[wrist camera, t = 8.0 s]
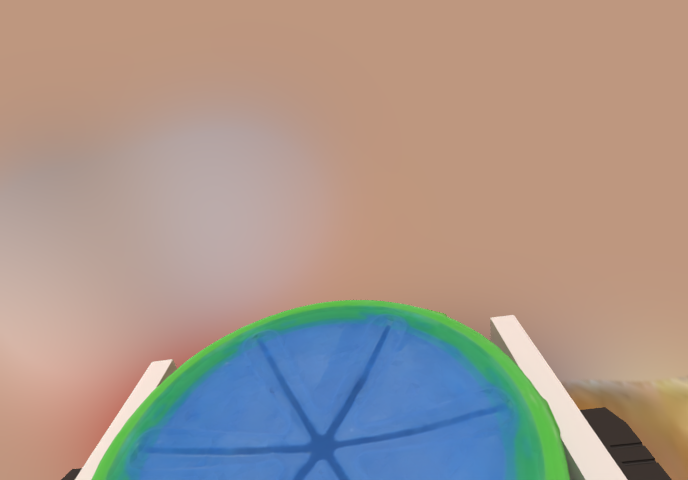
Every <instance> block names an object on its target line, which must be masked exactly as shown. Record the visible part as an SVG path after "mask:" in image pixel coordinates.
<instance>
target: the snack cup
mask: <svg viewBox="0 0 688 480" xmlns="http://www.w3.org/2000/svg"><path fill="white" fill-rule="evenodd" d="M91 480H570V474H569V469H568V464H567V460H566V455H565V451H564V448H563V445H562V442H561V438H560V429H559V426H558V424H557V422H556V420H555V418H554V415H553V413H552V411H551V409H550V407H549V404H548V402H547V401H546V400H545V399H544V398H543V397H542V396H541V395H540V394H539V392H538V391H537V390H536V388H535V387H534V385H533V384H532V382H531V381H530V380H529V379H528V377H527V376H526V375H525V374H524V373H523V371H522V370H521V369H520V368H519V367H518V366H517V365H516V364H515V363H514V361H513V360H512V359H511V358H510V357H509V356H508V355H506V354H505V353H504V352H503V351H502V350H501V349H500V348H499V347H498V346H496V345H495V344H494V343H493V342H491V341H490V340H488V339H487V338H485V337H484V336H482V335H481V334H479V333H478V332H476V331H475V330H472V329H471V328H469V327H467V326H465V325H463V324H462V323H460V322H458V321H456V320H453V319H451V318H449V317H447V315H446V314H444V313H440V312H436V311H432V310H428V309H422V308H418V307H414V306H410V305H405V304H399V303H392V302H384V301H374V300H345V301H332V302H324V303H318V304H313V305H308V306H303V307H299V308H295V309H292V310H287V311H284V312H281V313H279V314H276V315H272V316H269V317H267V318H264V319H261V320H259V321H256V322H255V323H252V324H249V325H247V326H245V327H243V328H240V329H238V330H236V331H235V332H233V333H231V334H229V335H227V336H225V337H223V338H221V339H220V340H218V341H216V342H214V343H213V344H211V345H210V346H208V347H206V348H205V349H203V350H202V351H200V352H199V353H197V354H196V355H195V356H193V357H192V358H190V359H189V360H188V361H186V362H185V363H184V364H183V365H181V366H180V367H179V368H178V369H177V370H175V371H174V372H173V373H172V374H171V375H170V376H168V377H167V378H166V379H165V380H164V381H163V382H162V383H161V384H160V385H159V386H158V387H157V388H156V389H154V390H153V391H152V392H151V394H150V395H149V396H148V397H147V398H146V399H145V400H144V401H143V403H142V404H141V405H140V406H139V407H138V408H137V409H136V411H135V412H134V413H133V414H132V416H131V417H130V418H129V419H128V420H127V422H126V423H125V424H124V426H123V427H122V429H121V430H120V431H119V433H118V434H117V435H116V437H115V438H114V440H113V441H112V443H111V444H110V446H109V448H108V449H107V451H106V452H105V454H104V456H103V457H102V459H101V461H100V463H99V465H98V467H97V469H96V471H95V473H94V475H93V477H92V479H91Z"/></svg>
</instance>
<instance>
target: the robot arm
mask: <svg viewBox="0 0 688 480" xmlns="http://www.w3.org/2000/svg"><path fill="white" fill-rule="evenodd" d="M490 327H491V329H490V330H491V342H493V343H494V344H495V345H496V346H498V347H499V348H500V349H501V350H502V351H503V352H504V353H505V354H506V355H508V356H509V357H510V358H511V359H512V360H513V361H514V363H515V364H516V365H517V366H518V367H519V368H520V369H521V370H522V371H523V373H524V374H525V375H526V376H527V377H528V379H529V380H530V381H531V382H532V384H533V385H534V387H535V388H536V390H537V391H538V392H539V394H540V395H541V396H542V397H543V398H544V399H545V400H546V401H547V402H548V404H549V407H550V409H551V411H552V413H553V415H554V418H555V420H556V422H557V424H558V426H559V429H560V438H561V442H562V445H563V448H564V451H565V455H566V460H567V464H568V469H569V474H570V480H671V478H670V477H669V476H668V475H667V473H666V472H665V471H664V470H663V468H662V467H661V466H660V465H659V463H656V461H655V458H654V457H653V456H652V455H651V453H650V452H649V451H648V450H647V448H646V447H645V446H643V445H642V442H641V441H640V440H639V438H638V437H637V436H636V434H635V433H634V432H633V431H632V429H631V428H630V427H629V426H628V424H627V423H626V422H624V421H623V420H622V419H620V418H619V417H617V416H616V415H615V414H613V413H612V412H611V411H609V410H608V409H606V408H605V407H604V408H595V409H586V410H579V409H578V407H577V406H576V404H575V403H574V402H573V400H572V399H571V397H570V396H569V394H568V393H567V391H566V390H565V389H564V387H563V386H562V384H561V383H560V381H559V380H558V378H557V377H556V375H555V374H554V373H553V371H552V370H551V368H550V367H549V366H548V364H547V362H546V361H545V360H544V358H543V357H542V355H541V354H540V352H539V351H538V349H537V348H536V347H535V345H534V344H533V342H532V341H531V339H530V338H529V336H528V335H527V334H526V332H525V331H524V329H523V328H522V327H521V325H520V323H519V322H518V320H517V319H516V318H515V316H514V315H509V316H501V317H493V318H490ZM175 370H177V368H176V366H175V363H174V361H173V359H172V360H164V361H157V362H152V363H151V364H150V366H149V368H148V369H147V371H146V372H145V373H144V375H143V377H142V378H141V380H140V381H139V383H138V384H137V386H136V387H135V389H134V390H133V392H132V393H131V395H130V396H129V398H128V399H127V401H126V402H125V404H124V405H123V407H122V409H121V410H120V412H119V413H118V415H117V416H116V418H115V419H114V421H113V422H112V424H111V425H110V427H109V428H108V430H107V431H106V433H105V434H104V436H103V438H102V439H101V441H100V442H99V444H98V445H97V447H96V448H95V450H94V451H93V453H92V454H91V456H90V457H89V459H88V460H87V462H86V464H85V465H84V466H83V468H80V469H72V470H71V471H70V472H69V473H68V474H67V475H66V476H65V477H64V478H63V479H62V480H91V479H92V477H93V475H94V473H95V471H96V469H97V467H98V465H99V463H100V461H101V459H102V457H103V456H104V454H105V452H106V451H107V449H108V448H109V446H110V444H111V443H112V441H113V440H114V438H115V437H116V435H117V434H118V433H119V431H120V430H121V429H122V427H123V426H124V424H125V423H126V422H127V420H128V419H129V418H130V417H131V416H132V414H133V413H134V412H135V411H136V409H137V408H138V407H139V406H140V405H141V404H142V403H143V401H144V400H145V399H146V398H147V397H148V396H149V395H150V394H151V392H152V391H153V390H154V389H156V388H157V387H158V386H159V385H160V384H161V383H162V382H163V381H164V380H165V379H166V378H167V377H168V376H170V375H171V374H172V373H173V372H174V371H175Z"/></svg>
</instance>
